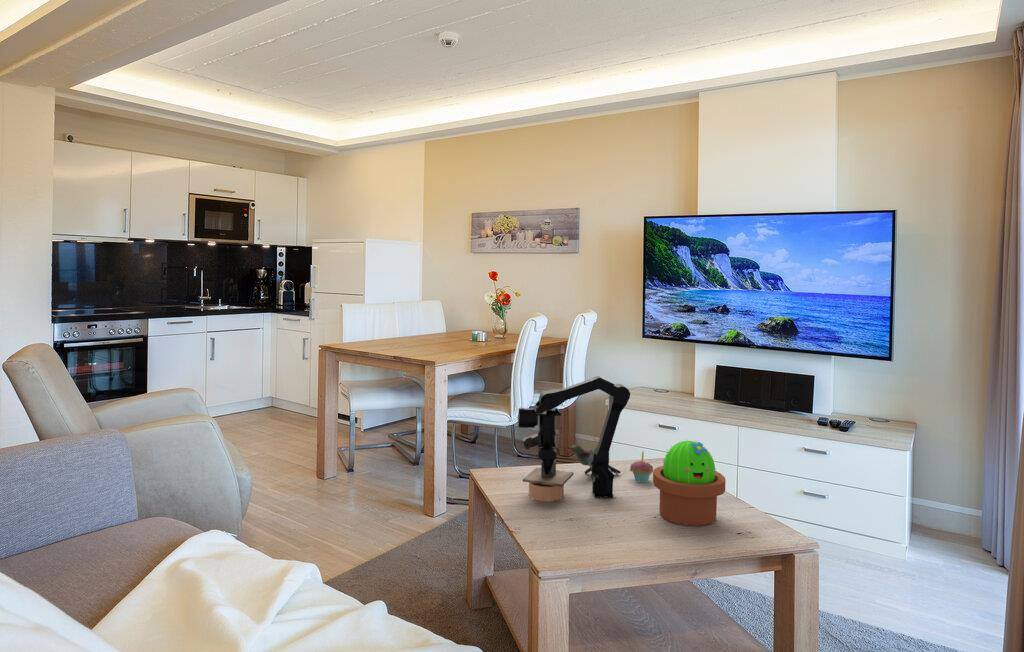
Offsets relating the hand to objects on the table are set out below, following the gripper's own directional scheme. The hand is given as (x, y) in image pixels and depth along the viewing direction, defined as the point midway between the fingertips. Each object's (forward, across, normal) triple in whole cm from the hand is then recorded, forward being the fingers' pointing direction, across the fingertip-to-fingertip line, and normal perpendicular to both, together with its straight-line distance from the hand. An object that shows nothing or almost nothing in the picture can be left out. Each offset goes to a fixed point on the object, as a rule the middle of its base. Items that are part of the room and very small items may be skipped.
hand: (546, 471), depth 218 cm
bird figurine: (+9, -24, +18) cm, 31 cm away
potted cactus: (+9, +16, +45) cm, 49 cm away
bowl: (+8, 0, 0) cm, 8 cm away
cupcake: (+9, -19, +36) cm, 42 cm away
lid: (+2, 0, +1) cm, 2 cm away
